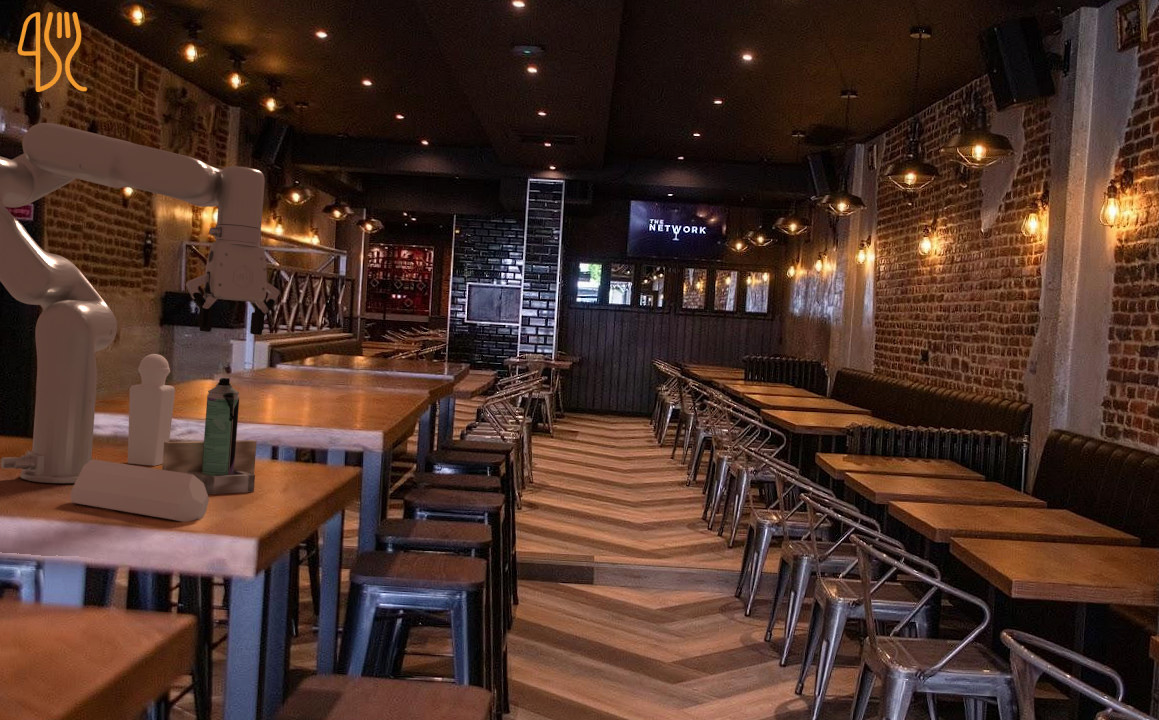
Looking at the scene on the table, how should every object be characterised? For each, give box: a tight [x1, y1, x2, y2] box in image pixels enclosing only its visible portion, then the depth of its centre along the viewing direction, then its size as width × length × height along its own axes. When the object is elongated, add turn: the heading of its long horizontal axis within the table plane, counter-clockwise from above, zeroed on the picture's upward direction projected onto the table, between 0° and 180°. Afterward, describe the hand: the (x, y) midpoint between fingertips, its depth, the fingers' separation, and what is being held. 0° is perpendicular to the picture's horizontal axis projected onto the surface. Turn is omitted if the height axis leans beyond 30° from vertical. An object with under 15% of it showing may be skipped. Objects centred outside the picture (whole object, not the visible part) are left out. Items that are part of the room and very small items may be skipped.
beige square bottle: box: [127, 353, 176, 467], centre depth 208 cm, size 6×6×22 cm
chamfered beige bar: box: [70, 458, 210, 523], centre depth 163 cm, size 7×7×24 cm
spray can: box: [202, 377, 240, 476], centre depth 187 cm, size 6×6×20 cm
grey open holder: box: [161, 439, 257, 495], centre depth 188 cm, size 17×9×8 cm, turn 136°
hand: (231, 332), depth 186 cm, fingers open, 9 cm apart
